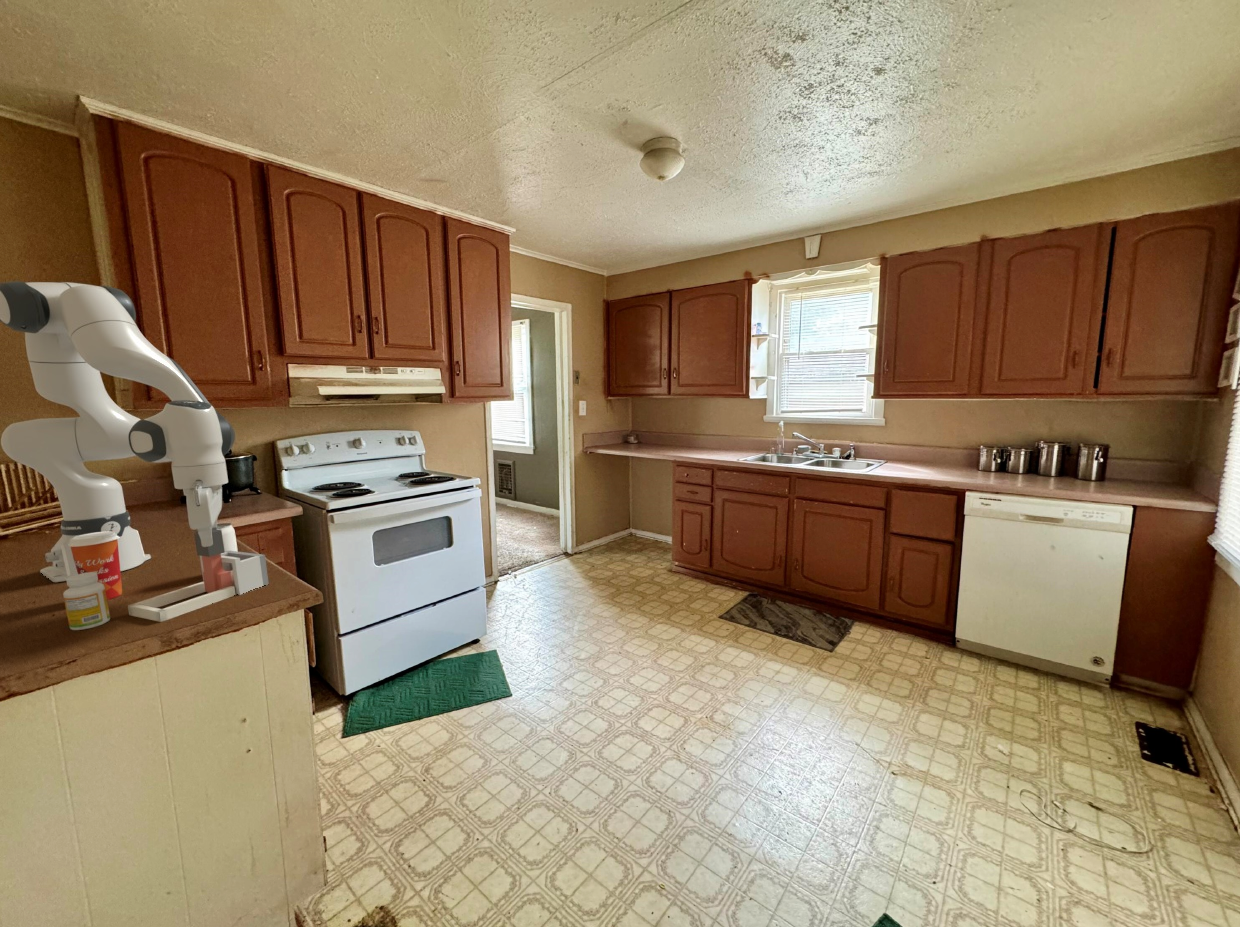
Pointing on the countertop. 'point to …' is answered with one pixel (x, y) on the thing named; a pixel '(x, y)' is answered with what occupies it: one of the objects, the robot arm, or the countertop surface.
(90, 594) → the supplement bottle
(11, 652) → the countertop surface
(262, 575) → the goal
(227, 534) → the can
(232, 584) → the ball
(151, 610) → the white flat open frame
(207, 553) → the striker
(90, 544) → the paper cup
